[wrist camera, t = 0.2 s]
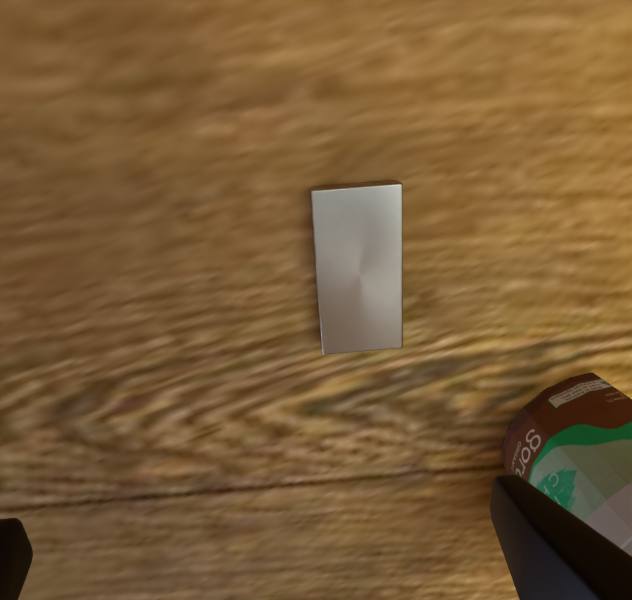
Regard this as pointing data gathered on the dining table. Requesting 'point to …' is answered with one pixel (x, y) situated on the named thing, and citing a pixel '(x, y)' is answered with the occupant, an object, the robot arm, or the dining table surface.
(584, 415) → the food container
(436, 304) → the dining table surface
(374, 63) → the dining table surface
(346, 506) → the dining table surface
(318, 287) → the silver flat block
